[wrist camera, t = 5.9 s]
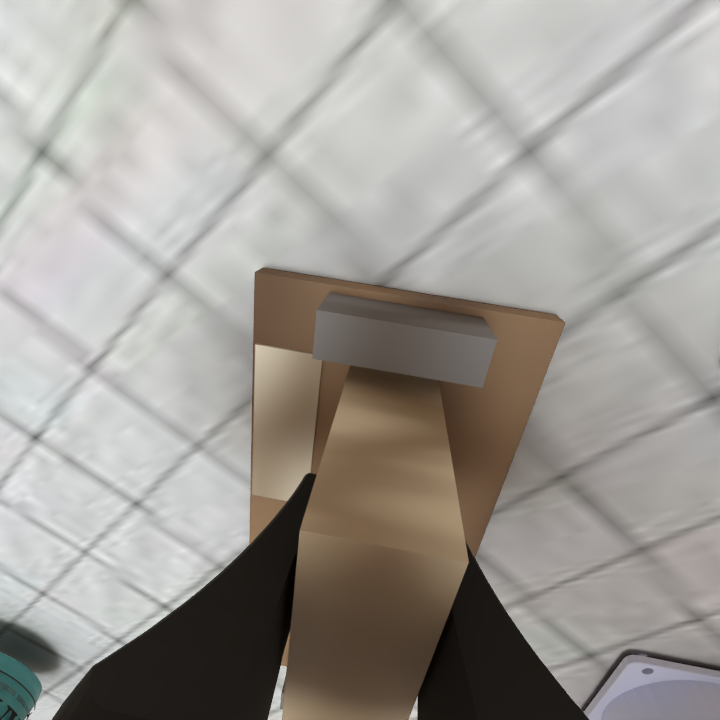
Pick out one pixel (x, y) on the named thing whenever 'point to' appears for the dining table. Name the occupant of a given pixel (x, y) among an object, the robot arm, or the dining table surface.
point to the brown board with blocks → (392, 354)
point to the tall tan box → (375, 554)
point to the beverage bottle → (17, 689)
